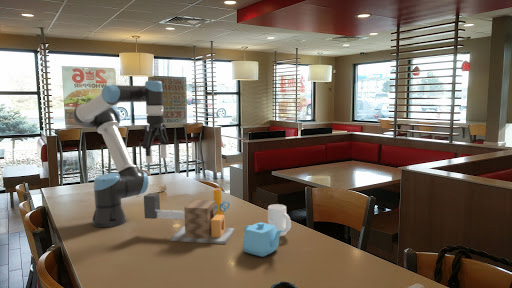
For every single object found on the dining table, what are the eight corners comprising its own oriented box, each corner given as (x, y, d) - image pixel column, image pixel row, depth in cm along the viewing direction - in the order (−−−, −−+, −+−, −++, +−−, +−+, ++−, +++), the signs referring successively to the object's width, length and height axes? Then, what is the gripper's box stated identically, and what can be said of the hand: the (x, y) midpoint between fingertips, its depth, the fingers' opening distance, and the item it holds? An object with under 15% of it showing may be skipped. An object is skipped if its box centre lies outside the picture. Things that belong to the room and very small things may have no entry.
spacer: (211, 236, 160) (211, 219, 159) (216, 230, 167) (216, 214, 166) (220, 237, 159) (220, 220, 158) (225, 231, 166) (224, 214, 166)
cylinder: (224, 223, 180) (224, 192, 178) (203, 222, 182) (203, 191, 180) (231, 215, 192) (230, 186, 190) (211, 214, 194) (211, 186, 192)
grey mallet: (144, 218, 166) (143, 196, 165) (149, 214, 171) (148, 193, 170) (201, 220, 161) (200, 198, 160) (204, 217, 166) (204, 195, 165)
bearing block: (170, 240, 159) (168, 208, 157) (184, 227, 175) (183, 198, 173) (225, 243, 155) (224, 210, 153) (234, 230, 170) (233, 200, 169)
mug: (283, 240, 157) (283, 212, 156) (264, 233, 166) (263, 206, 165) (296, 235, 163) (296, 208, 161) (277, 228, 172) (277, 203, 170)
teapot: (274, 263, 135) (274, 233, 134) (235, 252, 146) (235, 223, 145) (292, 252, 145) (292, 223, 144) (254, 242, 156) (254, 215, 155)
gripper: (148, 116, 160) (150, 165, 163) (174, 113, 184) (176, 156, 187) (132, 116, 162) (134, 164, 165) (160, 113, 186) (162, 156, 189)
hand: (156, 160), depth 176 cm, fingers open, 13 cm apart
